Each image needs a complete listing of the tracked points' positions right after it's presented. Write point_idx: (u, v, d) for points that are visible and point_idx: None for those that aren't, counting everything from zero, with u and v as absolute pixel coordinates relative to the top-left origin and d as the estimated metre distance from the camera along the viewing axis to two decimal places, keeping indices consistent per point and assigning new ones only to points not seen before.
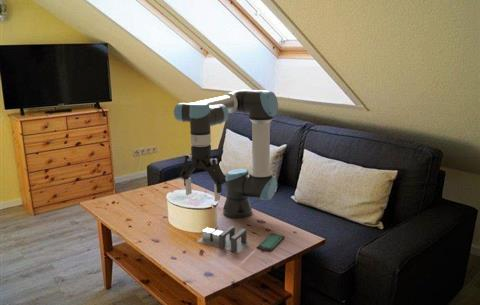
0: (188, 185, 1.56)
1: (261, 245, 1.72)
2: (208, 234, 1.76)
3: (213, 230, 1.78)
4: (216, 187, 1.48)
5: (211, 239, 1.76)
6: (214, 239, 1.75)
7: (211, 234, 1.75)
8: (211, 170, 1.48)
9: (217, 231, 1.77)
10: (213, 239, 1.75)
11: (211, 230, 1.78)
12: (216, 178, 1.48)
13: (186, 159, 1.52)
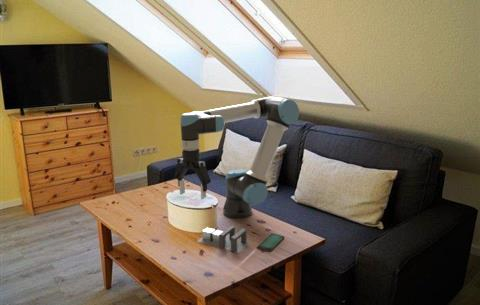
0: (181, 186, 1.79)
1: (261, 245, 1.72)
2: (208, 234, 1.76)
3: (213, 230, 1.78)
4: (202, 186, 1.73)
5: (211, 239, 1.76)
6: (214, 239, 1.75)
7: (211, 234, 1.75)
8: (199, 171, 1.72)
9: (217, 231, 1.77)
10: (213, 239, 1.75)
11: (211, 230, 1.78)
12: (202, 179, 1.72)
13: (178, 162, 1.76)
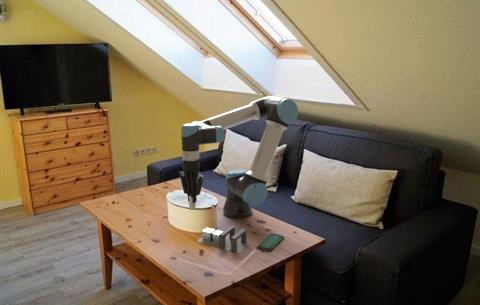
0: None
1: (261, 245, 1.72)
2: (208, 234, 1.76)
3: (213, 230, 1.78)
4: (192, 198, 1.77)
5: (211, 239, 1.76)
6: (214, 239, 1.75)
7: (211, 234, 1.75)
8: (194, 183, 1.75)
9: (217, 231, 1.77)
10: (213, 239, 1.75)
11: (211, 230, 1.78)
12: (194, 191, 1.76)
13: (180, 175, 1.77)
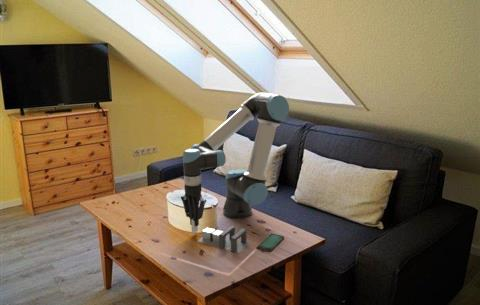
0: None
1: (261, 245, 1.72)
2: (208, 234, 1.76)
3: (213, 230, 1.78)
4: (194, 221, 1.80)
5: (211, 239, 1.76)
6: (214, 239, 1.75)
7: (211, 234, 1.75)
8: (196, 207, 1.78)
9: (217, 231, 1.77)
10: (213, 239, 1.75)
11: (211, 230, 1.78)
12: (196, 214, 1.79)
13: (182, 199, 1.80)
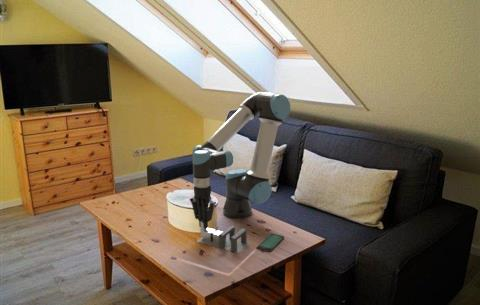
0: None
1: (261, 245, 1.72)
2: (209, 234, 1.76)
3: (213, 230, 1.77)
4: (203, 224, 1.77)
5: (211, 239, 1.76)
6: (214, 239, 1.75)
7: (211, 234, 1.75)
8: (206, 209, 1.75)
9: (217, 231, 1.76)
10: (213, 239, 1.75)
11: (211, 230, 1.77)
12: (205, 217, 1.76)
13: (192, 201, 1.77)
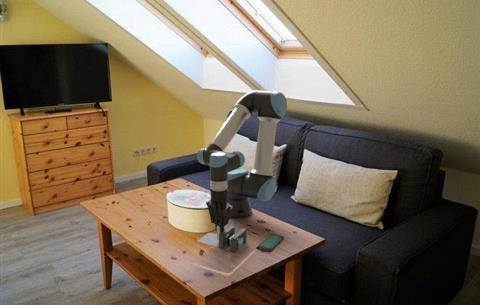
0: None
1: (261, 245, 1.72)
2: (225, 239, 1.71)
3: (230, 235, 1.73)
4: (219, 228, 1.73)
5: (228, 244, 1.71)
6: None
7: (228, 239, 1.70)
8: (222, 213, 1.71)
9: None
10: (230, 244, 1.71)
11: (228, 235, 1.73)
12: (222, 221, 1.72)
13: (208, 205, 1.73)
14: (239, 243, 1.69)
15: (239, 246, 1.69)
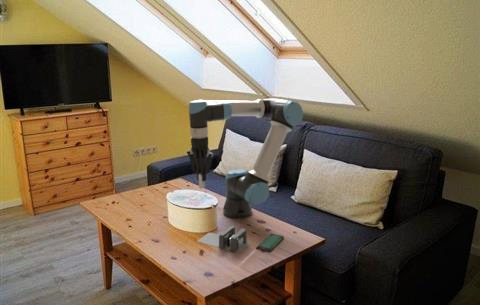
0: None
1: (261, 245, 1.72)
2: (225, 239, 1.71)
3: (230, 235, 1.73)
4: (201, 176, 1.75)
5: (228, 244, 1.71)
6: None
7: (228, 239, 1.70)
8: (203, 161, 1.73)
9: None
10: (230, 244, 1.71)
11: (228, 235, 1.73)
12: (204, 169, 1.74)
13: (189, 154, 1.75)
14: (239, 243, 1.69)
15: (239, 246, 1.69)
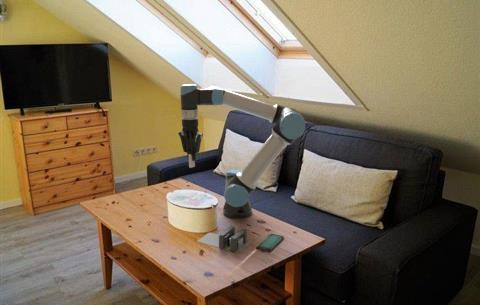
0: None
1: (260, 245, 1.72)
2: (225, 239, 1.71)
3: (230, 235, 1.73)
4: (191, 156, 1.86)
5: (228, 244, 1.71)
6: None
7: (228, 239, 1.70)
8: (193, 141, 1.84)
9: None
10: (230, 244, 1.71)
11: (228, 235, 1.73)
12: (193, 149, 1.85)
13: (180, 135, 1.86)
14: (239, 243, 1.69)
15: (239, 246, 1.69)
